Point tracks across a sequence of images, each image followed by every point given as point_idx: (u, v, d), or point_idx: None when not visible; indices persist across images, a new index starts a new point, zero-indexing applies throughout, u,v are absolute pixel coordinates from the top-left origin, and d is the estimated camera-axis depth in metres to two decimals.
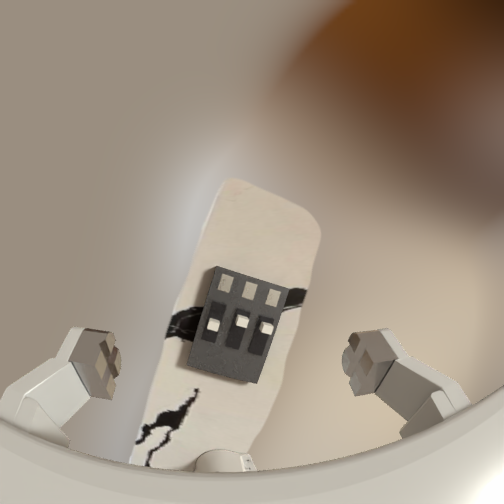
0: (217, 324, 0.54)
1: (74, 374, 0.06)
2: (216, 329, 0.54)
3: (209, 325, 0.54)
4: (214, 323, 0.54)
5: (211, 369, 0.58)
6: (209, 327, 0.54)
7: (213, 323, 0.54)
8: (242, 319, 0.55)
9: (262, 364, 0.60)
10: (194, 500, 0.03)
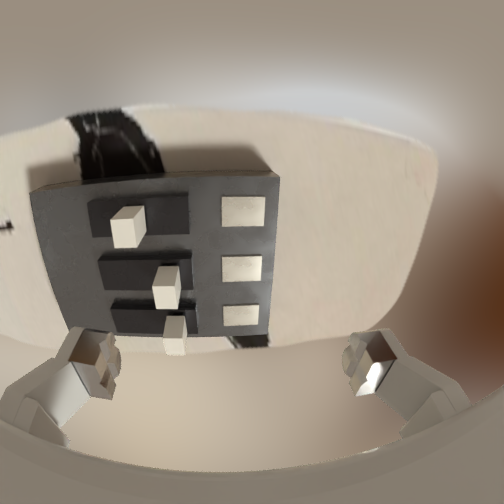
0: (132, 242, 0.18)
1: (74, 374, 0.06)
2: (119, 244, 0.18)
3: (120, 223, 0.17)
4: (131, 233, 0.18)
5: (45, 246, 0.22)
6: (115, 225, 0.17)
7: (131, 231, 0.18)
8: (172, 295, 0.21)
9: None
10: (194, 500, 0.03)
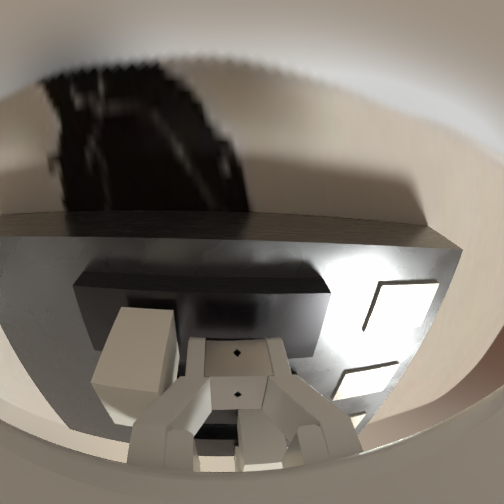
0: None
1: (208, 390, 0.07)
2: (125, 421, 0.06)
3: (122, 393, 0.05)
4: None
5: (10, 332, 0.10)
6: (108, 394, 0.05)
7: None
8: (279, 467, 0.09)
9: (124, 440, 0.15)
10: (194, 500, 0.03)
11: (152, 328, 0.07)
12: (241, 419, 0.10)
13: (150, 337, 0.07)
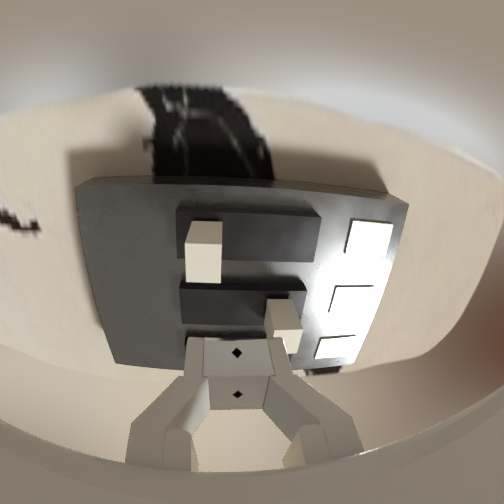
0: (215, 276, 0.14)
1: (206, 389, 0.07)
2: (194, 277, 0.14)
3: (201, 249, 0.13)
4: (215, 265, 0.14)
5: (94, 262, 0.18)
6: (193, 251, 0.13)
7: (215, 262, 0.14)
8: (296, 339, 0.16)
9: (165, 366, 0.23)
10: (194, 500, 0.03)
11: (213, 227, 0.15)
12: (269, 307, 0.18)
13: (213, 229, 0.15)
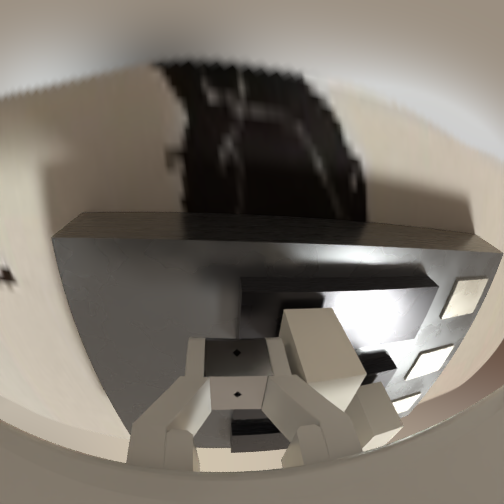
0: (339, 408, 0.07)
1: (208, 390, 0.07)
2: None
3: (332, 385, 0.07)
4: (346, 397, 0.07)
5: (96, 347, 0.11)
6: (318, 389, 0.07)
7: (347, 395, 0.07)
8: (392, 435, 0.10)
9: (199, 446, 0.16)
10: (194, 500, 0.03)
11: (327, 325, 0.09)
12: (360, 399, 0.11)
13: (331, 332, 0.08)
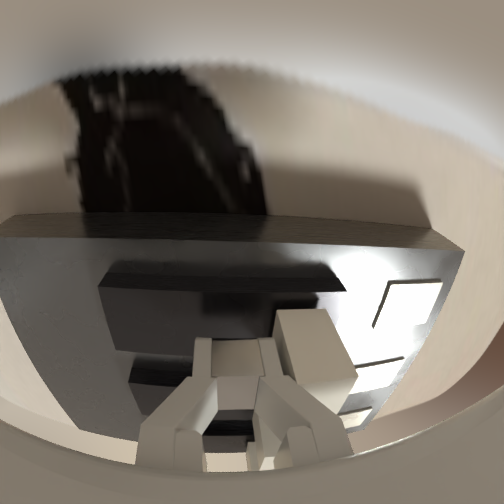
0: (331, 410, 0.07)
1: (215, 390, 0.07)
2: None
3: (324, 387, 0.07)
4: (338, 400, 0.07)
5: (23, 333, 0.10)
6: (309, 391, 0.07)
7: (340, 397, 0.07)
8: None
9: (134, 439, 0.16)
10: (194, 500, 0.03)
11: (320, 326, 0.08)
12: None
13: (324, 333, 0.08)
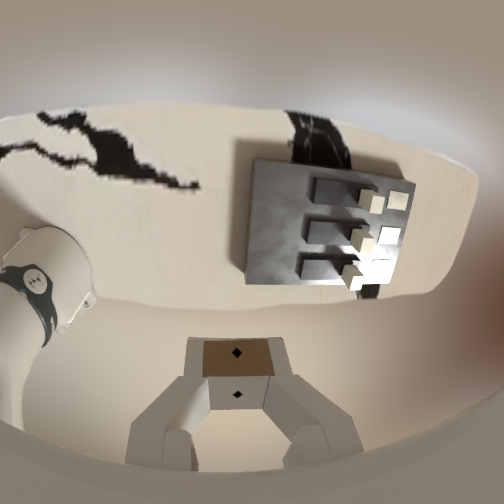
0: (380, 210, 0.31)
1: (206, 389, 0.07)
2: (373, 210, 0.30)
3: (378, 198, 0.30)
4: (381, 205, 0.30)
5: (258, 206, 0.34)
6: (375, 199, 0.30)
7: (381, 204, 0.30)
8: (371, 244, 0.33)
9: (282, 282, 0.39)
10: (194, 500, 0.03)
11: (372, 191, 0.32)
12: (356, 231, 0.34)
13: (374, 192, 0.31)
